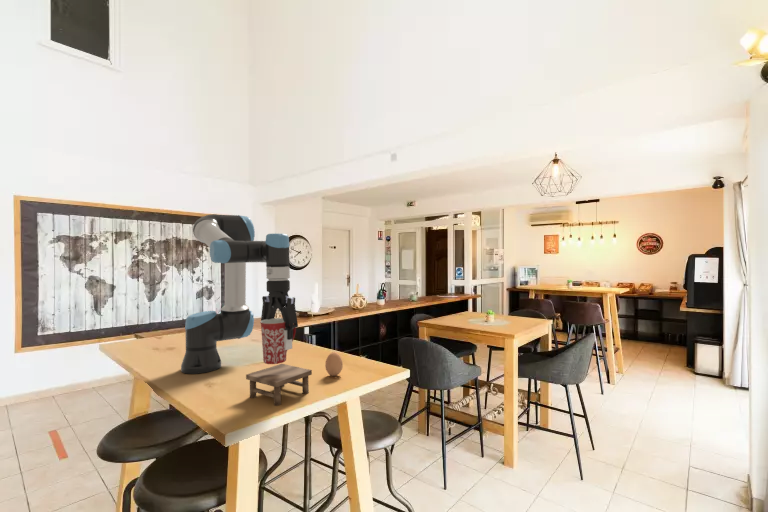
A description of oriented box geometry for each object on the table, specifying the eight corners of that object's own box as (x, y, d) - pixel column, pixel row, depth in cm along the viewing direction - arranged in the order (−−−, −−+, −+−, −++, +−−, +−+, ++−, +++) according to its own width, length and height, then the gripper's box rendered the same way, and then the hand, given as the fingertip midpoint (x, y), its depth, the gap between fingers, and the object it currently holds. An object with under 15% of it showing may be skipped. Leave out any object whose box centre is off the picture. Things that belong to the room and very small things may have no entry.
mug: (270, 367, 119) (270, 324, 119) (255, 361, 125) (255, 320, 125) (303, 358, 128) (303, 319, 128) (287, 353, 134) (287, 315, 134)
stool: (246, 397, 124) (246, 374, 124) (282, 384, 137) (281, 363, 137) (276, 407, 116) (276, 382, 116) (311, 392, 128) (311, 370, 128)
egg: (346, 375, 146) (346, 352, 146) (332, 379, 141) (332, 355, 141) (335, 372, 151) (335, 349, 151) (322, 375, 146) (321, 352, 146)
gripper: (248, 279, 129) (249, 346, 129) (291, 281, 118) (292, 354, 117) (266, 278, 136) (267, 341, 135) (308, 279, 124) (309, 349, 124)
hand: (279, 347), depth 126 cm, fingers closed on mug, 8 cm apart
